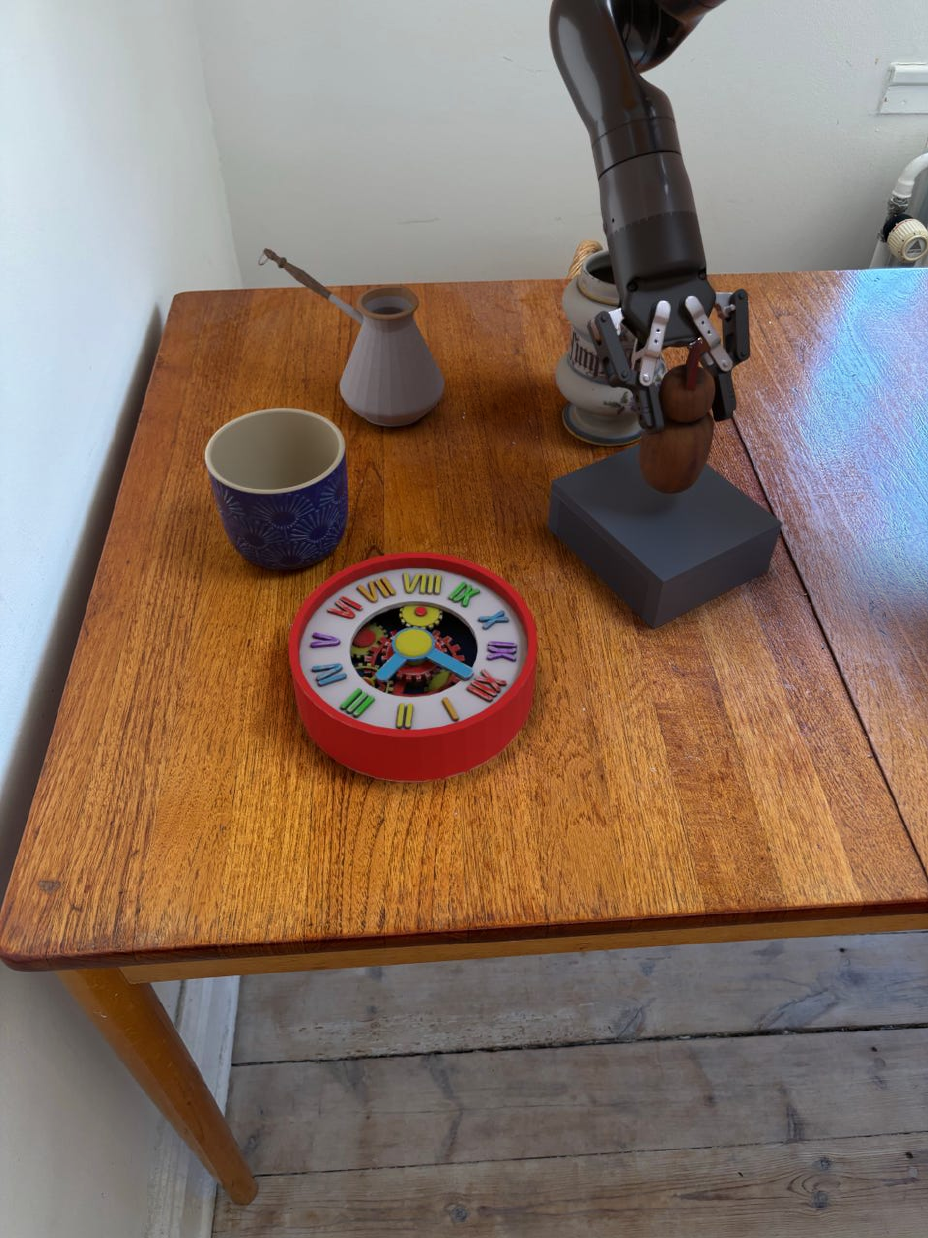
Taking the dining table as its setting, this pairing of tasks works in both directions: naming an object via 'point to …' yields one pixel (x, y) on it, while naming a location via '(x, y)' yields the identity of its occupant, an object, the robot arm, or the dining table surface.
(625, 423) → the apothecary jar
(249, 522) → the planter
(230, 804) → the dining table surface
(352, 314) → the coffee pot
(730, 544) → the grey display pedestal
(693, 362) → the wooden figurine
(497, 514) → the dining table surface
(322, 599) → the toy clock
